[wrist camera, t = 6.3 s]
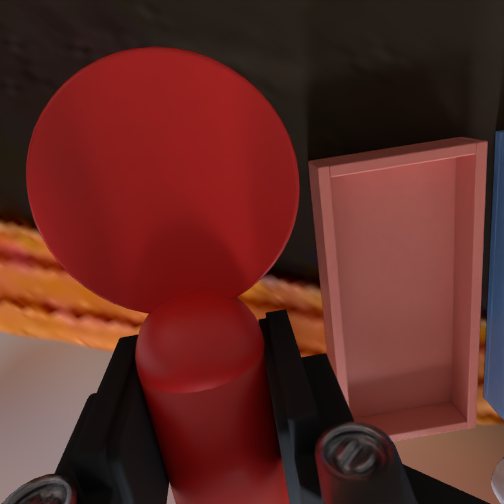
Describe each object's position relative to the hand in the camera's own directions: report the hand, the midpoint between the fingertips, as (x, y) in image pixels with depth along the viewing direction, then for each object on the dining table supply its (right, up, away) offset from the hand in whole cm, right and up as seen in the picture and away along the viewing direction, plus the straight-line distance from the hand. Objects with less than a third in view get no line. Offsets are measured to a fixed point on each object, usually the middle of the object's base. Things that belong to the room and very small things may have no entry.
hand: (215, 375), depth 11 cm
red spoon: (0, 0, 0) cm, 0 cm away
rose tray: (+10, 0, +16) cm, 19 cm away
